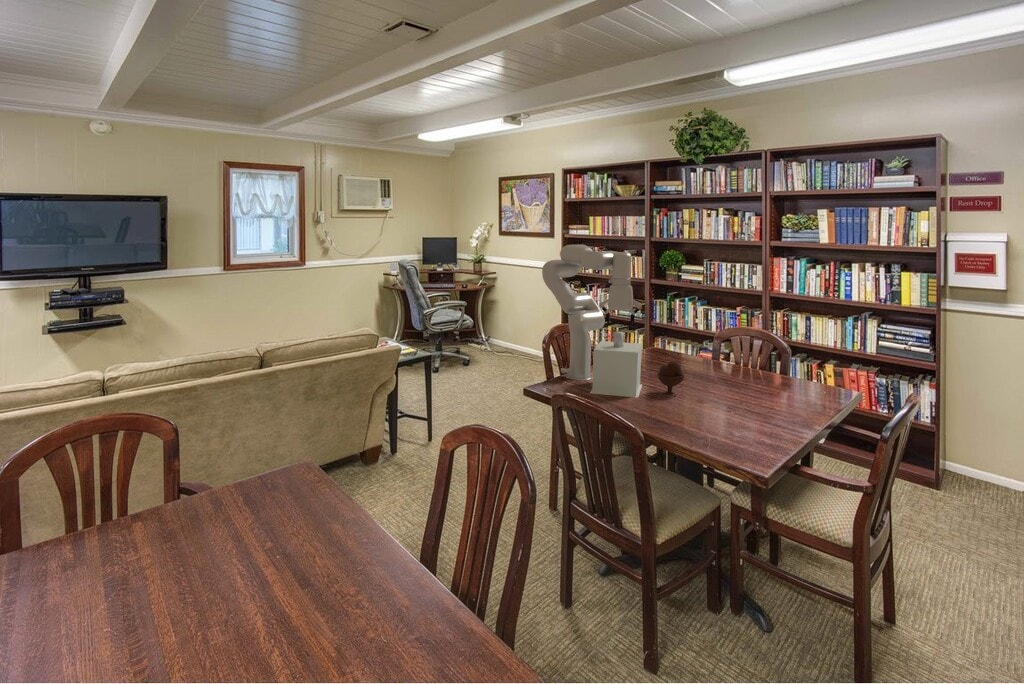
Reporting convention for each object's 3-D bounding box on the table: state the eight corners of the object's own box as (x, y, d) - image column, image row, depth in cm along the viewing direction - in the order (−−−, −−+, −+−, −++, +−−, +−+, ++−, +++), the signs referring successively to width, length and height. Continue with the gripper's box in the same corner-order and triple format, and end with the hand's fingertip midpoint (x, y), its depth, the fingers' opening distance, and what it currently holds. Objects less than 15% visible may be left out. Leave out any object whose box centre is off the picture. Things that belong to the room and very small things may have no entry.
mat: (589, 395, 239) (589, 393, 239) (597, 382, 258) (597, 380, 258) (638, 399, 233) (638, 397, 233) (642, 386, 252) (642, 384, 252)
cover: (592, 392, 240) (594, 335, 235) (599, 381, 256) (601, 327, 251) (635, 396, 234) (638, 338, 229) (640, 384, 251) (642, 330, 246)
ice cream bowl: (679, 392, 244) (682, 358, 241) (684, 399, 233) (687, 364, 230) (654, 391, 245) (656, 357, 242) (658, 399, 234) (660, 363, 231)
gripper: (598, 282, 235) (598, 323, 238) (641, 283, 230) (640, 325, 233) (601, 281, 242) (600, 321, 245) (643, 282, 237) (641, 322, 240)
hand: (620, 323), depth 239 cm, fingers open, 9 cm apart
